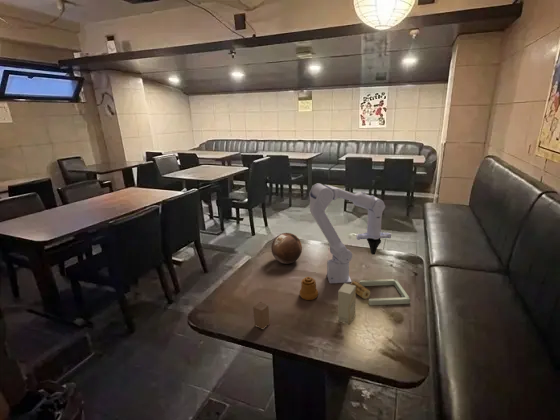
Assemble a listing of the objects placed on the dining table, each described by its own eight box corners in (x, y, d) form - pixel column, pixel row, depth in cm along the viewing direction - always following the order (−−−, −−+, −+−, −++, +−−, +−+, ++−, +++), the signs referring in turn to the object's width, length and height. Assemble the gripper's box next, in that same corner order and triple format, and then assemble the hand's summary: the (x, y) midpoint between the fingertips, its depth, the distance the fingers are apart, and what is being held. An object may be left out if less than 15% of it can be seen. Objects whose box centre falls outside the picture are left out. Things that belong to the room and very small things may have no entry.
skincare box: (349, 325, 104) (350, 294, 101) (337, 321, 106) (337, 291, 103) (355, 315, 109) (356, 285, 106) (343, 311, 112) (344, 282, 108)
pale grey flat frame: (369, 305, 114) (369, 300, 114) (359, 284, 128) (359, 280, 127) (409, 303, 114) (410, 298, 113) (395, 283, 128) (396, 279, 127)
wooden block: (261, 320, 109) (260, 301, 107) (270, 324, 107) (268, 305, 104) (254, 326, 106) (252, 306, 104) (262, 330, 104) (261, 310, 101)
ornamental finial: (321, 298, 120) (303, 302, 118) (314, 289, 127) (297, 292, 125) (320, 281, 117) (302, 284, 116) (313, 272, 124) (296, 275, 122)
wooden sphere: (266, 264, 149) (264, 236, 145) (283, 252, 161) (282, 226, 156) (291, 272, 141) (290, 242, 137) (307, 259, 153) (307, 231, 148)
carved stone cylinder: (349, 290, 125) (349, 281, 124) (358, 287, 126) (358, 279, 125) (362, 300, 118) (362, 291, 116) (370, 297, 119) (371, 289, 118)
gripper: (359, 228, 126) (358, 258, 131) (394, 227, 126) (392, 256, 130) (355, 223, 133) (354, 251, 137) (388, 221, 133) (386, 249, 137)
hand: (372, 253), depth 134 cm, fingers closed
